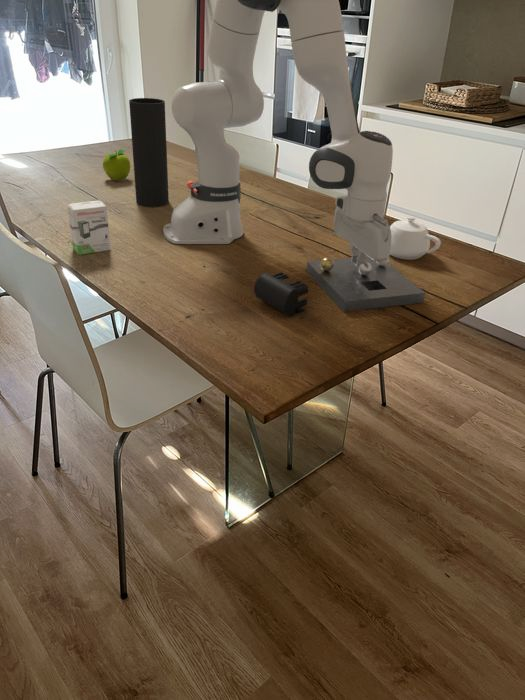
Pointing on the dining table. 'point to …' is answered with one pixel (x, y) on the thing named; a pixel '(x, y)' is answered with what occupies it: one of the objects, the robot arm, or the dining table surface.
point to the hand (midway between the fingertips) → (357, 264)
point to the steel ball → (365, 269)
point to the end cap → (281, 293)
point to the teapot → (411, 239)
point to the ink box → (89, 227)
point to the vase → (149, 151)
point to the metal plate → (365, 285)
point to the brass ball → (326, 264)
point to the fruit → (116, 165)
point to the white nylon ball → (383, 262)
